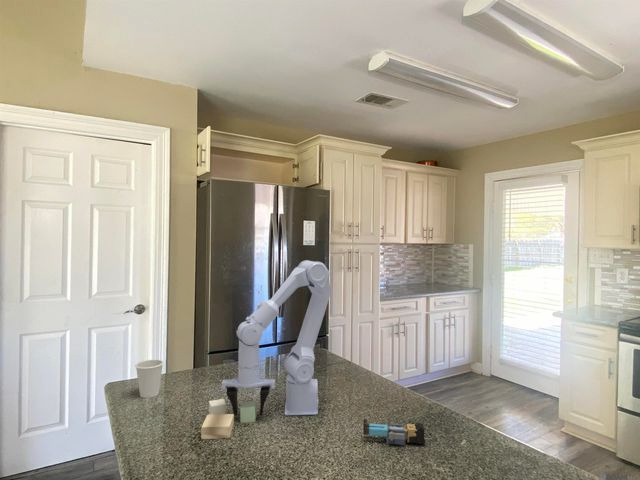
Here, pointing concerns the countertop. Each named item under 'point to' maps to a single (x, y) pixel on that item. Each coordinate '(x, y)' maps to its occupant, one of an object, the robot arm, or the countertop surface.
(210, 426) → the maple block
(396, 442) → the toy
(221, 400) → the ivory block
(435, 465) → the countertop surface
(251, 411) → the sage block
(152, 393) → the dixie cup
